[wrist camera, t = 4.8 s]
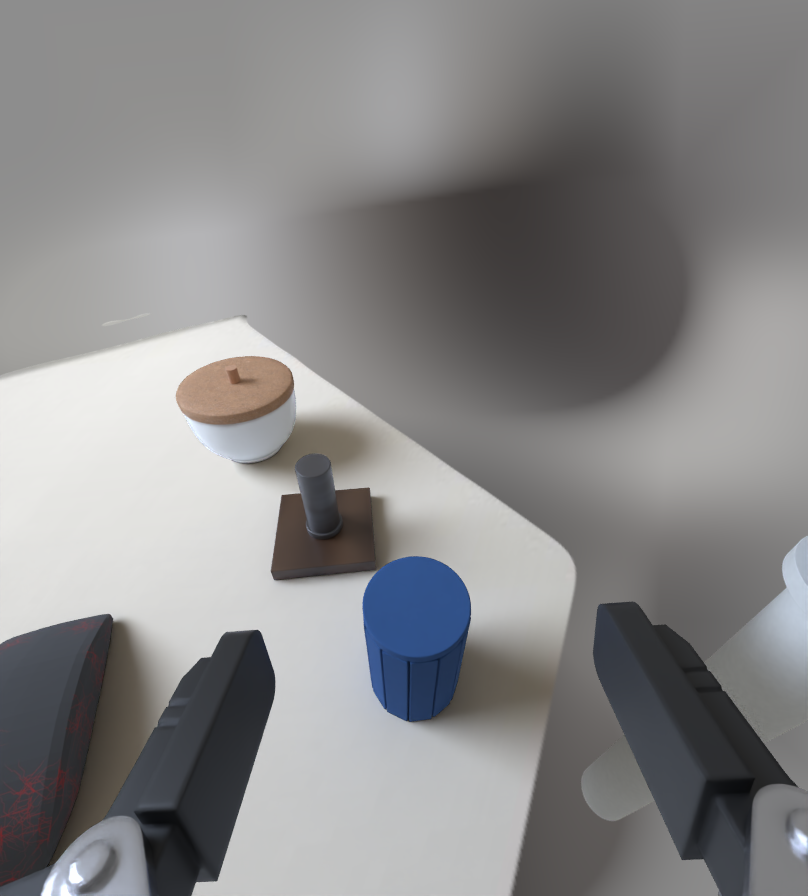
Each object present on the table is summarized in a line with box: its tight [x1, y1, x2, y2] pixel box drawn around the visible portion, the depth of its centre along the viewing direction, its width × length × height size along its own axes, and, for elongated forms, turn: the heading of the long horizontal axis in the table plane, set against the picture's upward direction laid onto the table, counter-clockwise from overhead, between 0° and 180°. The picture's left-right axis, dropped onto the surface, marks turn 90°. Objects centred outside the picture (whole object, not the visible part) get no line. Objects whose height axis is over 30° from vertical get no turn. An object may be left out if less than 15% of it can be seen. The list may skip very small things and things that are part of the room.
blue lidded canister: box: [363, 556, 471, 722], centre depth 25 cm, size 6×6×9 cm
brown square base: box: [271, 454, 376, 580], centre depth 33 cm, size 8×8×8 cm
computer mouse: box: [0, 614, 113, 887], centre depth 24 cm, size 8×14×4 cm, turn 17°
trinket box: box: [176, 356, 296, 463], centre depth 42 cm, size 11×11×9 cm
